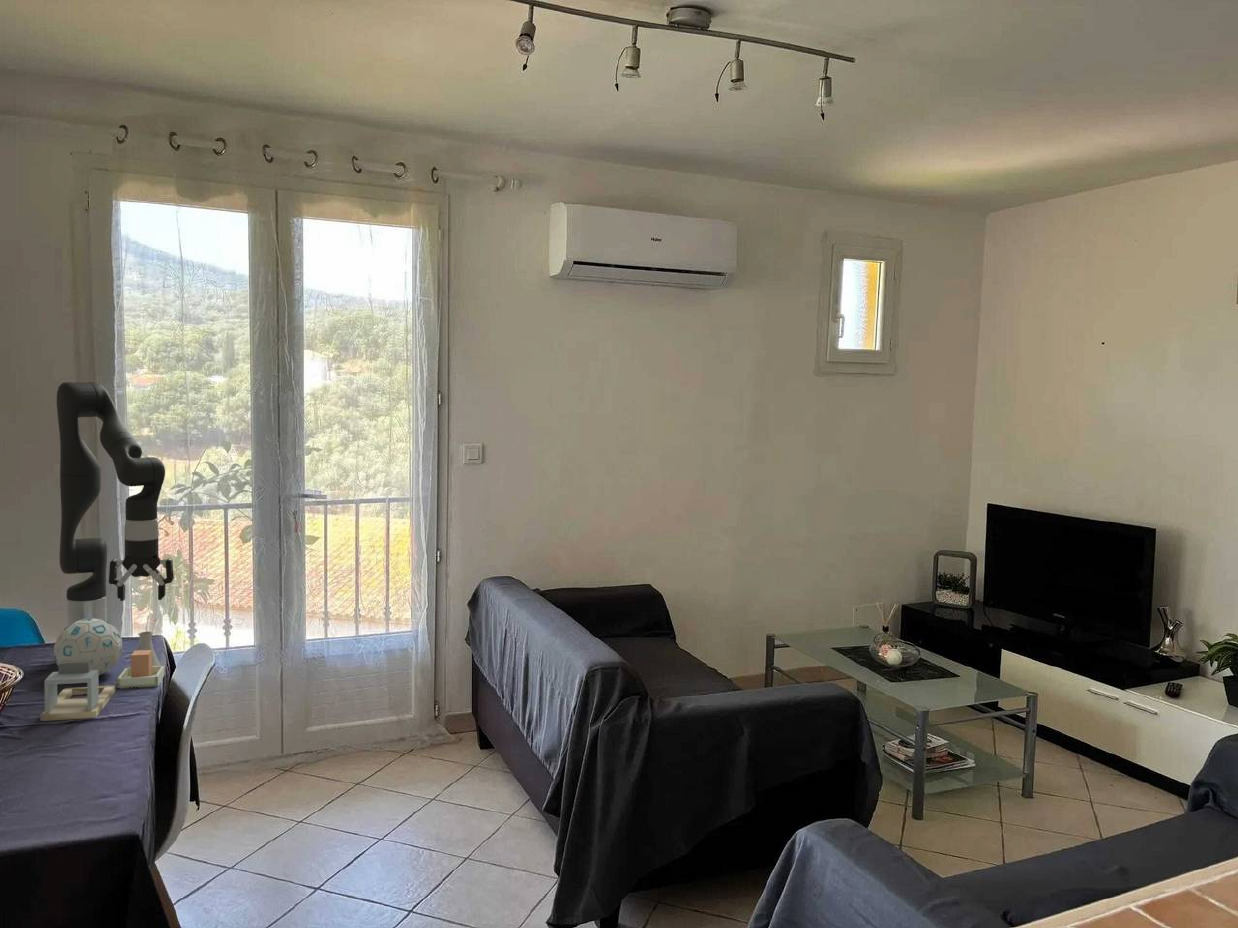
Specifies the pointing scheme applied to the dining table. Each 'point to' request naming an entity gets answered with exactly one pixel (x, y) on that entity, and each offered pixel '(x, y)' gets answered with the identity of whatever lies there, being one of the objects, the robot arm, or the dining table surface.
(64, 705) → the puzzle board
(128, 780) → the dining table surface
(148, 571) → the robot arm
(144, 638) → the flask
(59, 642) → the puzzle ball
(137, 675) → the terracotta block
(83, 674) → the sliding cover
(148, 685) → the pale sage tray
